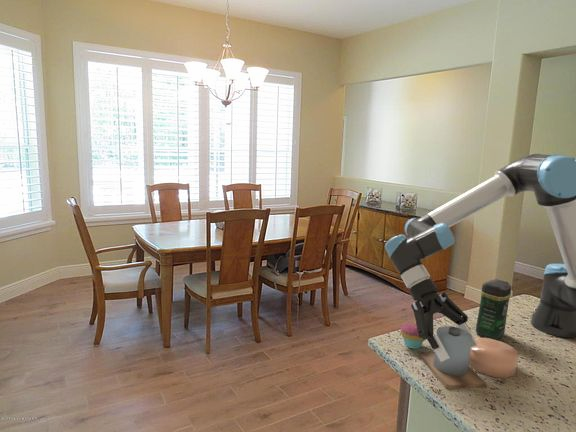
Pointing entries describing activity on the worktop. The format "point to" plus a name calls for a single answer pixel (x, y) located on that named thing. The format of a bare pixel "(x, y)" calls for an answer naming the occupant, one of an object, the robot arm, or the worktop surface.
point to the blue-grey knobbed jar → (454, 350)
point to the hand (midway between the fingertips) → (460, 353)
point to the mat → (452, 381)
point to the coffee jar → (493, 309)
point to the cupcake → (411, 335)
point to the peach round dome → (493, 358)
